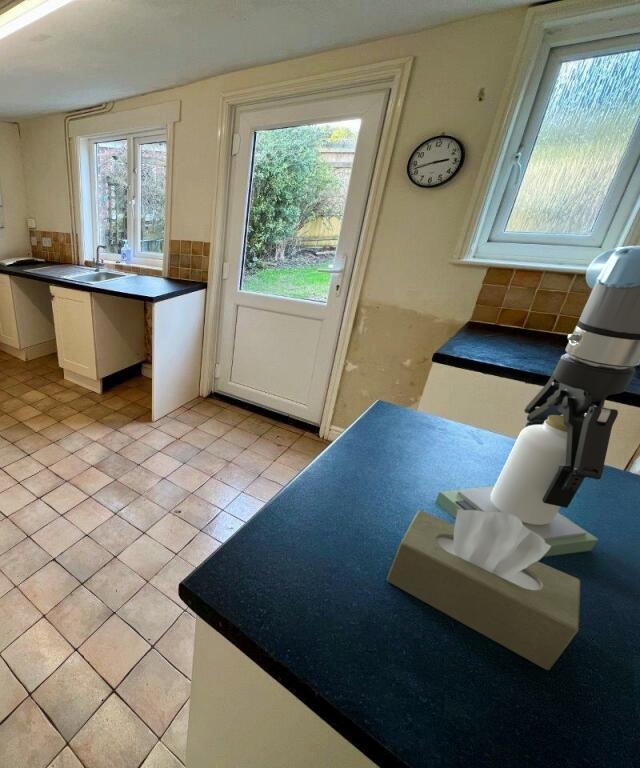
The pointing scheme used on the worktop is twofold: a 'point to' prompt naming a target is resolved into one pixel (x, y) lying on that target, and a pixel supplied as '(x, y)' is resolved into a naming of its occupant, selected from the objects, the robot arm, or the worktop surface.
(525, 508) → the white bottle
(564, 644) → the tissue box
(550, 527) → the kitchen scale
